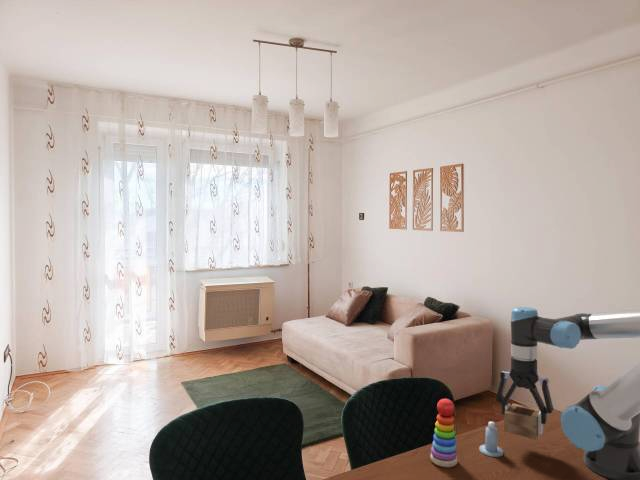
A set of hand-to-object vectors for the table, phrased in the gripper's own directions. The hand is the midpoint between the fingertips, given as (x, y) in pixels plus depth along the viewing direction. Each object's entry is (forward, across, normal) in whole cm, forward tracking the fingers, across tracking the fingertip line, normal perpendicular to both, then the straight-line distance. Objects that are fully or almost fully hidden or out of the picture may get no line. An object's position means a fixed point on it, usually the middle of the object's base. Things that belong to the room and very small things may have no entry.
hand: (523, 429), depth 144 cm
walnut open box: (0, 0, 0) cm, 0 cm away
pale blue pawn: (+7, +8, +7) cm, 12 cm away
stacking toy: (+7, +17, +22) cm, 28 cm away
